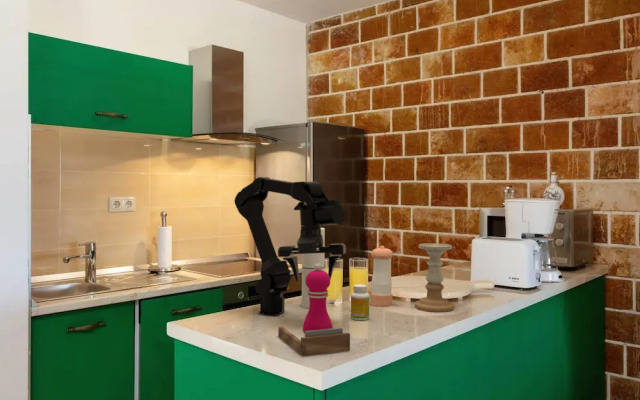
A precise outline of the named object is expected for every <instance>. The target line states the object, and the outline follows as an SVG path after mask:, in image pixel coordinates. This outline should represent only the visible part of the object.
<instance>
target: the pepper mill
mask: <svg viewBox="0 0 640 400" xmlns="http://www.w3.org/2000/svg"><path fill="white" fill-rule="evenodd" d="M314 268H315V270H313V271H311V272H309V273H308V274H307V276H306V281H305V282H306V285H307V287H308V288H309V290H308V291H307V292H308V295H307V296H308V297H309V300H310V306H309V309H308V311H307V314H306V316H305V318H304V321H303V323H302V332H303V334H304V335H305V331H309V330H320V329H330V328H334V327H333V323H332V320H331V317H330V315H329V312H328V309H327V297H328V296H329V290H328V288H329V287H330V285H331V280H330V277H329V275H328V272H327V271H325V270H324V271H322V270H321V268H322V266H321V265H320V264H316V265H315V266H314Z"/></svg>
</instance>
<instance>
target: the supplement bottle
mask: <svg viewBox="0 0 640 400" xmlns="http://www.w3.org/2000/svg"><path fill="white" fill-rule="evenodd" d="M352 286H353V287H352V289H353V292H352V293H351V294H350V319H351V320H354V321H367V320H369V319H370V294H369V293H368V292H367V291H368V285H367V284H361V283H359V284H358V283H357V284H354V285H352Z"/></svg>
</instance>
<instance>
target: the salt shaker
mask: <svg viewBox="0 0 640 400" xmlns="http://www.w3.org/2000/svg"><path fill="white" fill-rule="evenodd" d="M370 255H371V257H372V259H373V267H372V268H373V271H372V272H373V273H372V278H371V292H370V294H369V305H371V306H375V307H391V306H393V300H394V299H393V295H394V294H393V293H392V286H393V283H392V277H391V276H392V275H391V259H392V258H393V255H394V254H393V251H392V250H391V249H389V248H386V247H385V246H384V245H380V246H379V248H378V247H377V248H375V249H372V251H371V253H370Z"/></svg>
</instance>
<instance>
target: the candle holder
mask: <svg viewBox="0 0 640 400" xmlns="http://www.w3.org/2000/svg"><path fill="white" fill-rule="evenodd" d="M418 248H419V249H421V250H424V251H426V253H427V254H428V256H429V257H428V258H429V259H428V261H427V262H426V264H427V265H428V270H427V272H426V276H425V280H426V282H427V283H426V284H425V286H424V287H425V289H426V290H427V292H426V296H424V297H421V298H420V299H419V300H417V301H415V302H414V308H416V309H417V310H421V311H422V312H424V311H425V312H433V313H447V312H451V311H453V310H454V309H455V305H454V303H452V302H450V301H449V299H447V298H443V292H442V291H443V290H444V288H445V286H444V285H443V283H442V282H443V281H444V275H443V272H442V266H443V265H444V263H443V262H442V260H441V257H442V255H443V254H444V252H445V251H450V250H452V249H453V246H452V245H451V244H448V243H447V244H446V243H433V242H432V243H431V242H429V243H419V244H418Z"/></svg>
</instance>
